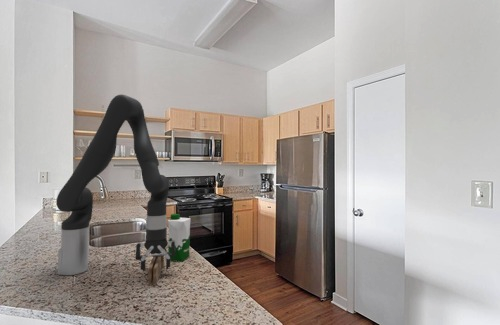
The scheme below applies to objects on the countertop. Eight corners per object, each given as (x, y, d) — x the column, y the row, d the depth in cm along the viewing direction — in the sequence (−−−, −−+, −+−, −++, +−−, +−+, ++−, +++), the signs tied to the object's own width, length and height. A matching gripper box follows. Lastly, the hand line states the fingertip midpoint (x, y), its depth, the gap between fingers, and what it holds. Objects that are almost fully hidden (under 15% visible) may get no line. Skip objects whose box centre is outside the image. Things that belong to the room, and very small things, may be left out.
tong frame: (153, 265, 108) (154, 249, 109) (163, 265, 109) (164, 248, 109) (146, 286, 89) (146, 266, 89) (158, 285, 90) (159, 265, 90)
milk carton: (174, 254, 123) (175, 212, 123) (192, 256, 121) (192, 213, 121) (164, 261, 114) (165, 215, 115) (183, 262, 112) (184, 216, 113)
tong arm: (154, 268, 105) (155, 254, 105) (161, 267, 105) (161, 253, 106) (147, 285, 89) (148, 269, 90) (156, 284, 90) (156, 268, 90)
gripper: (134, 229, 93) (133, 274, 93) (175, 228, 97) (174, 271, 96) (138, 225, 100) (137, 267, 100) (176, 223, 104) (175, 264, 103)
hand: (155, 269), depth 98 cm, fingers open, 8 cm apart
